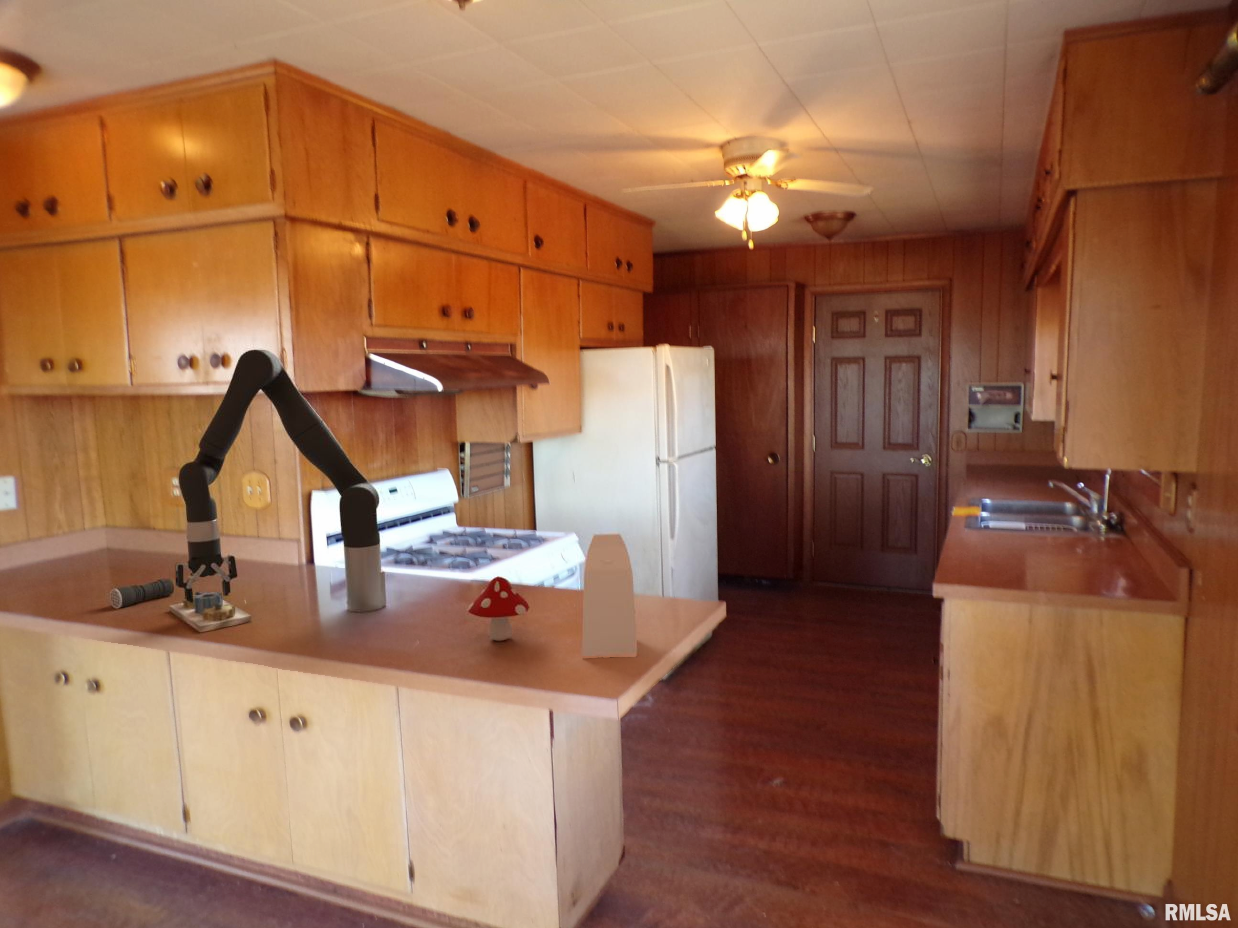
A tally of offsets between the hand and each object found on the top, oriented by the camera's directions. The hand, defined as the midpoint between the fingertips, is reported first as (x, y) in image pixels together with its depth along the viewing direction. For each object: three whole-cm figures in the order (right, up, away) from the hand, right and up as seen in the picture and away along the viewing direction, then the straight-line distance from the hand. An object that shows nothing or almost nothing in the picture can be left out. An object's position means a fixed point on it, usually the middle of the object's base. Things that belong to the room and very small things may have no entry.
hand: (208, 598), depth 212 cm
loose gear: (0, -3, 0) cm, 3 cm away
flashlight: (-26, -4, +16) cm, 31 cm away
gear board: (0, -5, 0) cm, 5 cm away
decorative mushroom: (+79, -6, -22) cm, 83 cm away
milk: (+105, -7, -30) cm, 109 cm away
